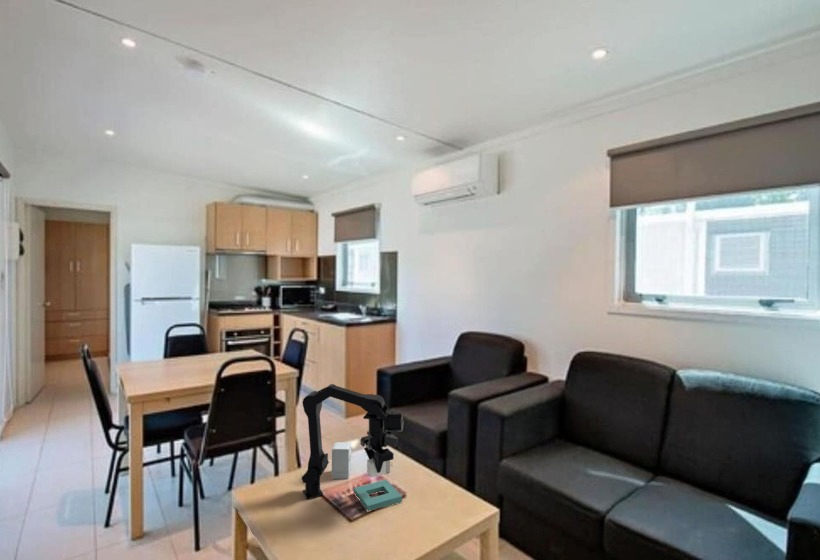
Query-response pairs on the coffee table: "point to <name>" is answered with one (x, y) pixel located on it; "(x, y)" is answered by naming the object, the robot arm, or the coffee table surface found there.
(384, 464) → the plug
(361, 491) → the socket board
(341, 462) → the supplement box
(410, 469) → the coffee table surface
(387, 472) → the architectural model
